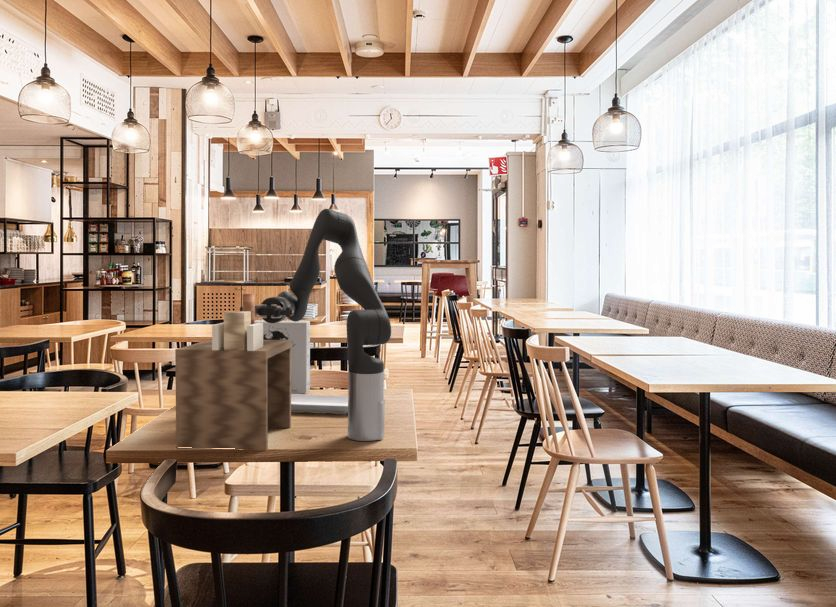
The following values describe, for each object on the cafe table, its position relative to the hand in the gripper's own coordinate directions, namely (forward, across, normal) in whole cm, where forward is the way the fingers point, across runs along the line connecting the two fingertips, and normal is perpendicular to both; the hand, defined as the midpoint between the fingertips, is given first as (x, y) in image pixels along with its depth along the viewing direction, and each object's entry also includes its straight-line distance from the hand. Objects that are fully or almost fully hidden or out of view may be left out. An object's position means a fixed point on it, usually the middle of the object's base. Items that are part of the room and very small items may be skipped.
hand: (259, 313), depth 176 cm
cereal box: (-52, -9, +32) cm, 61 cm away
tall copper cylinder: (+14, 0, +7) cm, 16 cm away
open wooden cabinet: (+9, -3, +32) cm, 33 cm away
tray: (-26, +8, +32) cm, 42 cm away
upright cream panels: (+17, 0, +8) cm, 19 cm away
